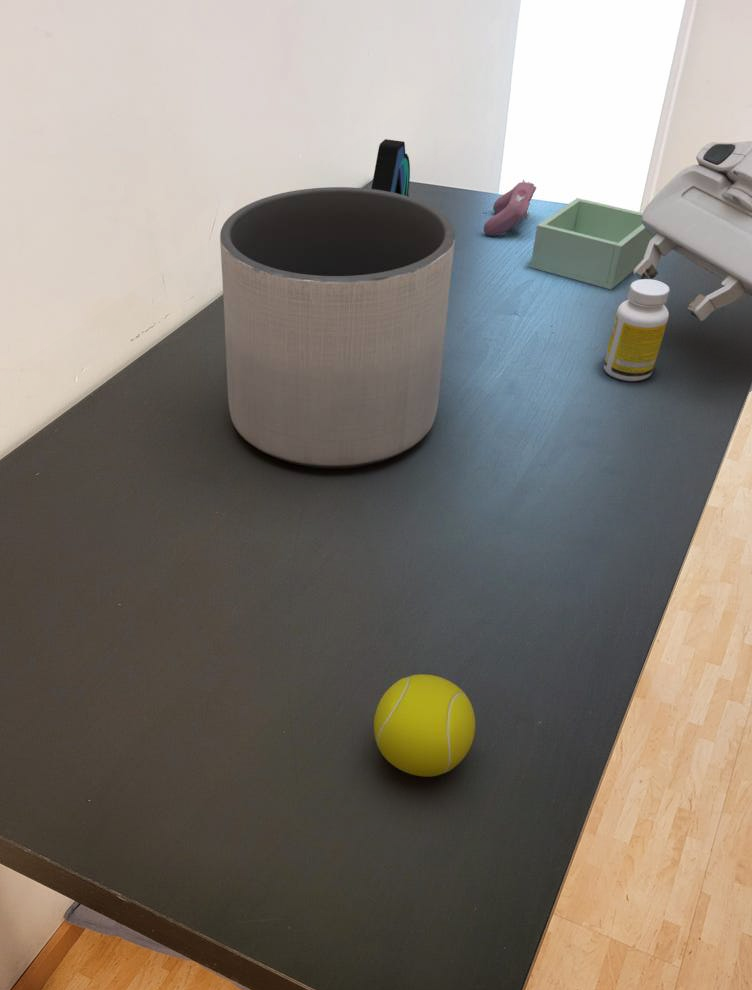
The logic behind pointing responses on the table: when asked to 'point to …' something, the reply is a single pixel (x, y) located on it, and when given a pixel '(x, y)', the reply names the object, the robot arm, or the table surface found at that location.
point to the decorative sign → (392, 168)
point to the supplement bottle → (638, 331)
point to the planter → (335, 323)
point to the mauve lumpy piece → (510, 209)
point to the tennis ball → (424, 725)
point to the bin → (591, 243)
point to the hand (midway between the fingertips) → (665, 296)
